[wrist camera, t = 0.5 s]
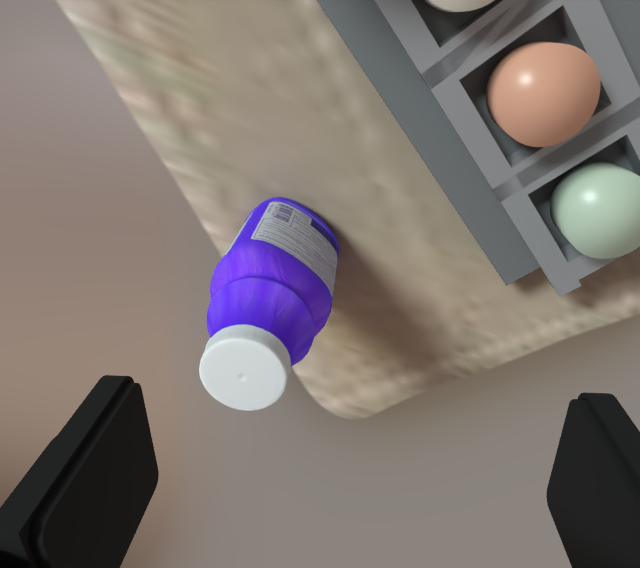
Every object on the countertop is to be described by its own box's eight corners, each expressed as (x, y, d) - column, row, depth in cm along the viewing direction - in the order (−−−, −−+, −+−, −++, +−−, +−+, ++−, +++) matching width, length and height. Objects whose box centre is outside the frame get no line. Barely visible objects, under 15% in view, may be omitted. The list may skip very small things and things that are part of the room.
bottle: (231, 234, 39) (144, 376, 23) (274, 176, 36) (208, 291, 21) (308, 288, 40) (274, 454, 25) (353, 236, 38) (346, 383, 23)
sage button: (615, 143, 30) (640, 155, 27) (649, 210, 31) (675, 228, 29) (535, 192, 31) (550, 208, 29) (571, 253, 33) (589, 273, 30)
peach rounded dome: (553, 20, 27) (573, 20, 24) (593, 100, 29) (617, 108, 26) (469, 80, 29) (479, 87, 26) (511, 153, 30) (526, 165, 28)
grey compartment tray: (520, -217, 26) (552, -265, 22) (697, 175, 34) (747, 198, 30) (305, -22, 31) (295, -29, 26) (506, 282, 39) (524, 315, 34)
